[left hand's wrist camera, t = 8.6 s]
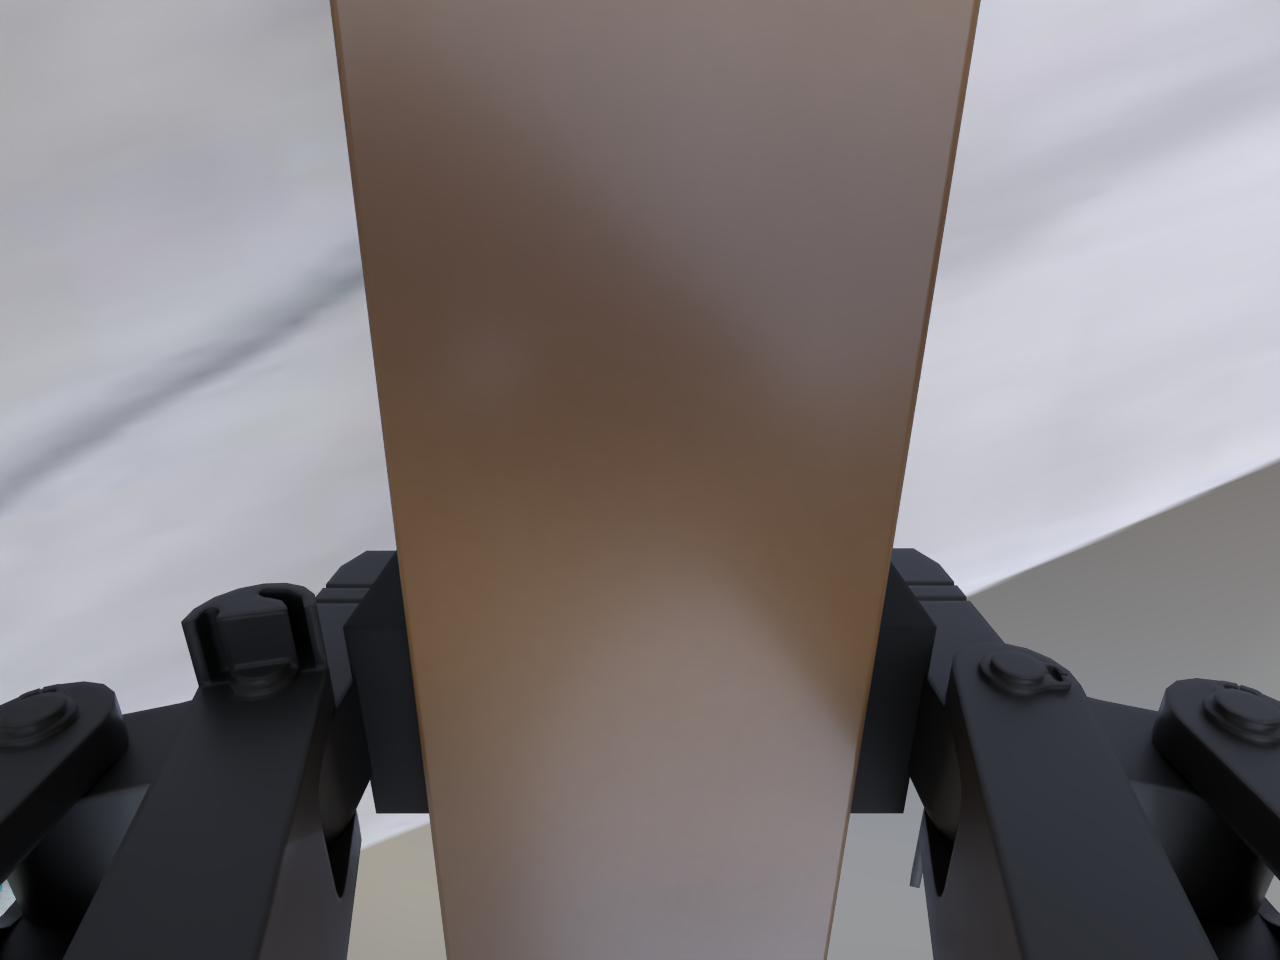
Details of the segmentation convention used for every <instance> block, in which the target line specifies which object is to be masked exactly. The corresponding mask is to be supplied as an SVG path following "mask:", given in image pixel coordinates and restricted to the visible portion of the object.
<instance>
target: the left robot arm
mask: <svg viewBox="0 0 1280 960" xmlns="http://www.w3.org/2000/svg"><path fill="white" fill-rule="evenodd" d="M181 624H182V627H183V631H184V634H185V638H186V642H187V645H188V649H189V652H190V656H191V660H192V663H193V667H194V670H195V674H196V678H197V681H198V685H199V688H198V690H197V692H196V694H195V696H194V698H193V700H191V701H187V702H183V703H179V704H174V705H169V706H164V707H159V708H154V709H149V710H144V711H139V712H134V713H128V714H123V715H122V713H121V710H120V707H119V704H118V701H117V698H116V695H115V692H114V691H112V690H111V689H110V688H108V687H107V686H106V685H104V684H99V683H91V682H75V683H67V684H56V685H52V686H47V687H44V688H43V689H41V690H40V688H39V689H36V690H33V691H30V692H27V693H24V694H22V695H21V696H19V697H18V698H16V699H13V700H11V701H9V702H7V703H5V704H2V705H0V885H1V884H2V883H3V882H4V881H5V880H6V879H7V880H8V883H9V885H10V887H11V889H12V891H13V894H14V896H15V898H16V901H15V902H14V903H13V904H12V905H11V906H10V907H9V909H8V910H7V911H6V912H5V913H4V914H3V915H2V916H1V917H0V960H347V952H348V944H349V936H350V928H351V920H352V912H353V904H354V896H355V888H356V880H357V871H358V864H359V855H360V847H361V834H360V827H359V821H358V816H357V811H356V808H357V806H358V804H359V802H360V800H361V798H362V796H363V793H364V791H365V789H366V787H367V785H368V783H369V781H371V787H372V792H373V798H374V803H375V809H376V813H429V808H428V800H427V792H426V784H425V775H424V767H423V759H422V751H421V743H420V735H419V726H418V718H417V710H416V702H415V694H414V686H413V677H412V669H411V661H410V653H409V645H408V636H407V628H406V620H405V612H404V604H403V596H402V587H401V579H400V571H399V563H398V555H397V550H396V551H366V552H364V553H362V554H361V555H359V556H357V557H356V558H354V559H352V560H351V561H349V562H347V563H346V564H344V565H342V566H341V567H340V568H339V569H338V571H337V572H336V573H335V574H334V575H333V577H332V578H331V579H330V580H329V582H328V583H327V584H326V588H323V589H322V590H321V591H320V593H319V594H318V595H317V596H316V597H315V594H314V593H312V592H311V591H309V590H308V589H307V588H305V587H304V586H299V585H294V584H289V583H269V584H259V585H254V586H249V587H244V588H239V589H236V590H233V591H231V592H228V593H225V594H222V595H219V596H217V597H214V598H212V599H211V600H209V601H207V602H205V603H204V604H202V605H200V606H198V607H197V608H195V609H193V611H192V612H191V613H190V614H189V615H188V616H187V617H186V618H185V619H184V620H183V621H182V622H181ZM910 778H911V780H912V782H913V784H914V786H915V788H916V791H917V793H918V795H919V797H920V799H921V801H922V803H923V805H924V811H923V816H922V821H921V826H920V831H919V837H918V842H917V847H916V852H915V857H914V862H913V868H912V874H911V880H910V886H912V887H917V888H919V887H920V883H921V878H922V873H923V878H924V886H925V894H926V902H927V910H928V918H929V926H930V934H931V942H932V950H933V958H934V960H1280V913H1279V912H1278V911H1277V910H1276V909H1275V908H1274V907H1273V906H1272V905H1271V904H1270V902H1269V901H1268V900H1267V899H1266V898H1265V894H1266V892H1267V890H1268V888H1269V886H1270V883H1271V881H1272V879H1273V877H1274V875H1275V876H1276V877H1277V878H1278V879H1279V880H1280V701H1277V700H1275V699H1273V698H1270V697H1268V696H1266V695H1264V694H1262V693H1261V692H1259V691H1257V690H1255V689H1252V688H1249V687H1246V686H1243V685H1241V686H1238V685H1237V684H1236V683H1231V682H1226V681H1217V680H1208V679H1199V678H1195V679H1186V680H1179V681H1176V682H1174V683H1173V684H1172V685H1170V686H1169V687H1168V688H1166V690H1165V693H1164V696H1163V699H1162V702H1161V705H1160V708H1159V711H1153V710H1148V709H1143V708H1137V707H1132V706H1127V705H1122V704H1117V703H1112V702H1107V701H1102V700H1098V699H1094V698H1090V697H1087V696H1086V694H1085V692H1084V690H1083V688H1082V686H1081V685H1080V684H1079V682H1078V681H1077V680H1076V679H1075V678H1074V676H1073V675H1072V674H1071V673H1070V671H1068V670H1067V669H1065V668H1064V667H1062V666H1061V665H1059V664H1058V663H1056V662H1055V661H1053V660H1052V659H1051V658H1048V657H1046V656H1044V655H1041V654H1039V653H1036V652H1034V651H1032V650H1029V649H1027V648H1022V647H1018V646H1014V645H1009V644H1005V643H1004V642H1003V641H1002V639H1001V638H1000V637H999V636H998V635H997V633H996V632H995V631H994V630H993V629H992V627H991V626H990V625H989V624H988V622H987V621H986V620H985V619H984V618H983V616H982V615H981V614H980V613H979V612H978V610H977V609H976V608H975V607H974V606H973V604H972V603H971V602H970V601H967V600H966V596H965V595H964V593H963V592H962V591H961V590H960V589H959V587H958V586H954V581H953V580H952V579H951V578H950V577H949V575H948V574H947V573H946V572H945V571H944V569H943V568H942V567H941V566H940V564H938V563H937V562H935V561H933V560H932V559H930V558H928V557H927V556H925V555H923V554H922V553H920V552H918V551H917V550H915V549H913V548H893V549H892V555H891V561H890V568H889V574H888V580H887V586H886V593H885V599H884V605H883V611H882V617H881V624H880V630H879V636H878V642H877V649H876V655H875V661H874V667H873V673H872V680H871V686H870V692H869V698H868V705H867V711H866V717H865V723H864V730H863V736H862V742H861V748H860V754H859V761H858V767H857V773H856V779H855V786H854V792H853V798H852V804H851V810H850V813H903V812H904V807H905V801H906V795H907V790H908V784H909V779H910Z"/></svg>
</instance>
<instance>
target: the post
mask: <svg viewBox="0 0 1280 960" xmlns="http://www.w3.org/2000/svg"><path fill="white" fill-rule="evenodd" d="M980 1H981V0H330V7H331V15H332V23H333V32H334V40H335V48H336V56H337V64H338V72H339V81H340V89H341V97H342V105H343V113H344V121H345V130H346V138H347V146H348V154H349V162H350V171H351V179H352V187H353V195H354V203H355V211H356V220H357V228H358V236H359V244H360V252H361V260H362V269H363V277H364V285H365V293H366V301H367V309H368V318H369V326H370V334H371V342H372V350H373V359H374V367H375V375H376V383H377V391H378V399H379V408H380V416H381V424H382V432H383V440H384V448H385V457H386V465H387V473H388V481H389V489H390V498H391V506H392V514H393V522H394V530H395V538H396V547H397V555H398V563H399V571H400V579H401V587H402V596H403V604H404V612H405V620H406V628H407V636H408V645H409V653H410V661H411V669H412V677H413V686H414V694H415V702H416V710H417V718H418V726H419V735H420V743H421V751H422V759H423V767H424V775H425V784H426V792H427V800H428V808H429V816H430V825H431V833H432V841H433V849H434V857H435V865H436V873H437V881H438V890H439V898H440V906H441V914H442V922H443V931H444V939H445V947H446V955H447V960H827V954H828V947H829V941H830V935H831V929H832V923H833V916H834V910H835V904H836V898H837V891H838V885H839V879H840V873H841V866H842V860H843V854H844V848H845V842H846V835H847V829H848V823H849V817H850V810H851V804H852V798H853V792H854V786H855V779H856V773H857V767H858V761H859V754H860V748H861V742H862V736H863V730H864V723H865V717H866V711H867V705H868V698H869V692H870V686H871V680H872V673H873V667H874V661H875V655H876V649H877V642H878V636H879V630H880V624H881V617H882V611H883V605H884V599H885V593H886V586H887V580H888V574H889V568H890V561H891V555H892V549H893V543H894V537H895V530H896V524H897V518H898V512H899V505H900V499H901V493H902V487H903V480H904V474H905V468H906V462H907V456H908V449H909V443H910V437H911V431H912V424H913V418H914V412H915V406H916V400H917V393H918V387H919V381H920V375H921V368H922V362H923V356H924V350H925V343H926V337H927V331H928V325H929V319H930V312H931V306H932V300H933V294H934V287H935V281H936V275H937V269H938V263H939V256H940V250H941V244H942V238H943V231H944V225H945V219H946V213H947V206H948V200H949V194H950V188H951V182H952V175H953V169H954V163H955V157H956V150H957V144H958V138H959V132H960V126H961V119H962V113H963V107H964V101H965V94H966V88H967V82H968V76H969V69H970V63H971V57H972V51H973V45H974V38H975V32H976V26H977V20H978V13H979V7H980Z"/></svg>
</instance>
